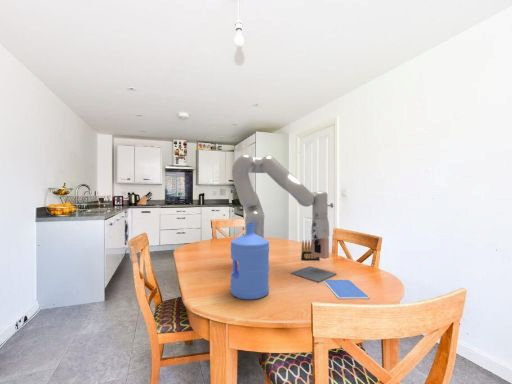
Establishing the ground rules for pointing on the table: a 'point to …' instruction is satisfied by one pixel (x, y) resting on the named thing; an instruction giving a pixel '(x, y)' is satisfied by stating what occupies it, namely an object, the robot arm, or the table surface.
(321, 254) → the brown rectangular block
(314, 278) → the mat
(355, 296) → the blue notebook
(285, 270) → the table surface
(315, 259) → the ammunition clip
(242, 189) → the robot arm
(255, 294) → the water jug
